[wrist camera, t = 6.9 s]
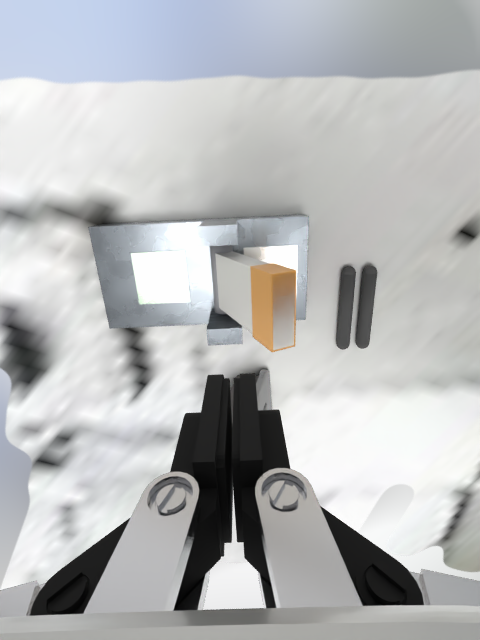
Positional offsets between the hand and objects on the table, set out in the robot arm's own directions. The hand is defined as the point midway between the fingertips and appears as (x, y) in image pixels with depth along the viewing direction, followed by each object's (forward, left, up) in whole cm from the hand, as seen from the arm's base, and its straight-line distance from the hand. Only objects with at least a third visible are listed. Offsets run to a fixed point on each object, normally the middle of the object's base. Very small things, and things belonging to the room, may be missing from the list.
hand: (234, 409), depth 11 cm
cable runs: (-13, +5, -24) cm, 27 cm away
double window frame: (+3, 0, -24) cm, 24 cm away
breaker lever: (+1, 0, -19) cm, 19 cm away
